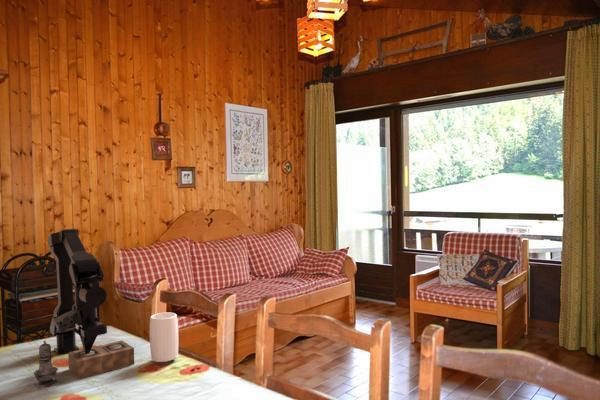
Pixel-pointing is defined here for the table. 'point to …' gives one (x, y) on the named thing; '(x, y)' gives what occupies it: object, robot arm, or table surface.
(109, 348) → the peg far
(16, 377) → the table surface
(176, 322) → the cup
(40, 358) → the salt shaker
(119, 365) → the walnut block
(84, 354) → the peg near
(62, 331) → the robot arm
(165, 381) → the table surface
